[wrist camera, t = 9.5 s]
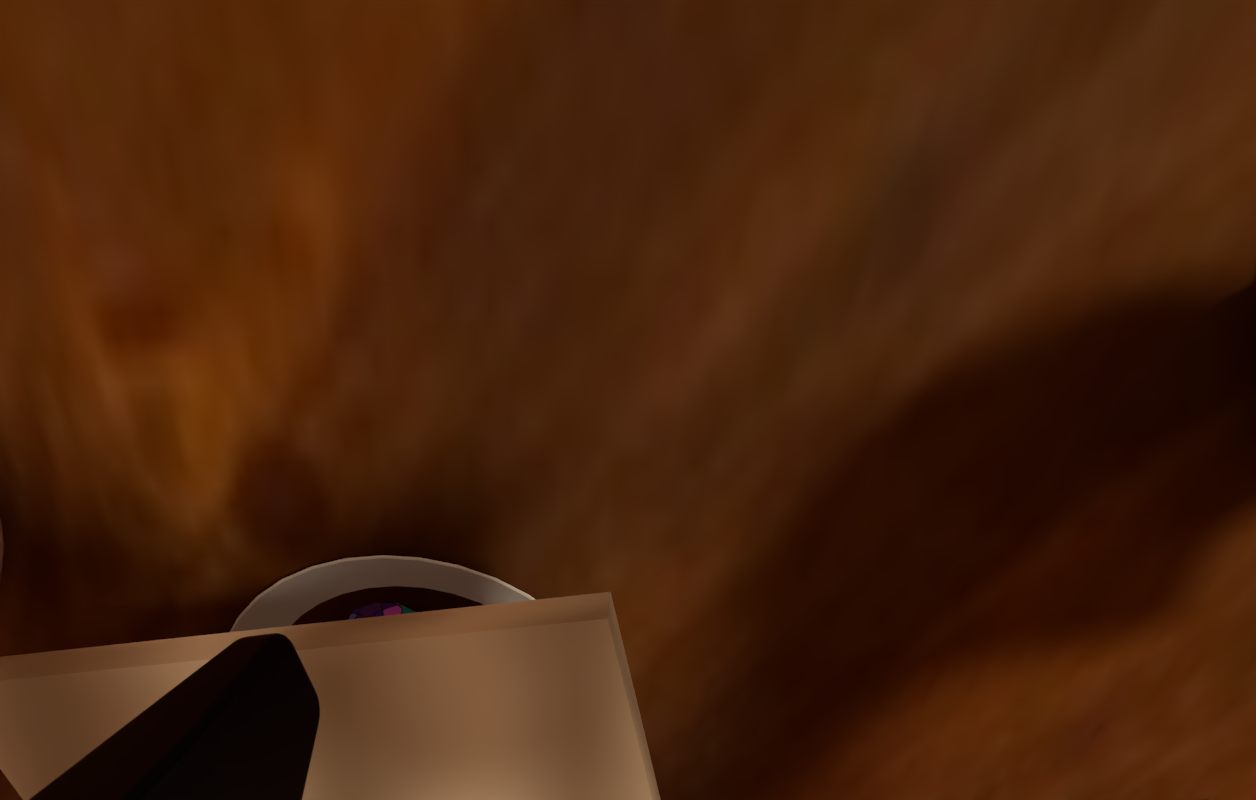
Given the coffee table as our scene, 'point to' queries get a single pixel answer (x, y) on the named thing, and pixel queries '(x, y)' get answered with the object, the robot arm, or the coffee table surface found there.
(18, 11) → the coffee table surface
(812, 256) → the coffee table surface
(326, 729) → the lid
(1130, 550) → the coffee table surface
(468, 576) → the purple round dome
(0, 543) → the lidded jar
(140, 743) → the robot arm
